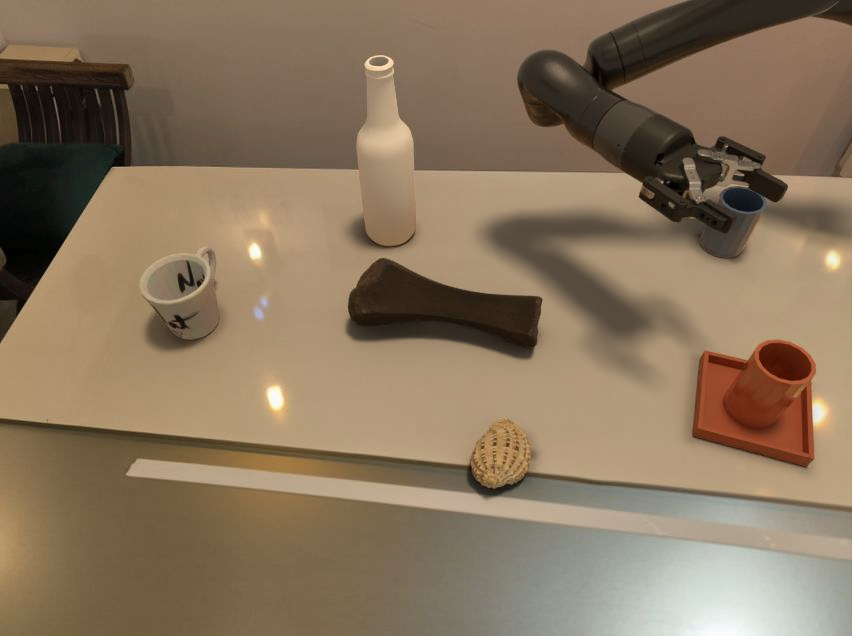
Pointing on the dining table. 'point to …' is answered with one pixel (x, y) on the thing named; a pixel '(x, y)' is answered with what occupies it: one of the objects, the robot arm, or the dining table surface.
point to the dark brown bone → (440, 304)
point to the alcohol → (386, 160)
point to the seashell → (501, 455)
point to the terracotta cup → (769, 383)
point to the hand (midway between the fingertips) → (758, 210)
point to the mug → (183, 292)
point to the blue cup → (748, 215)
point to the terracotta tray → (715, 424)
